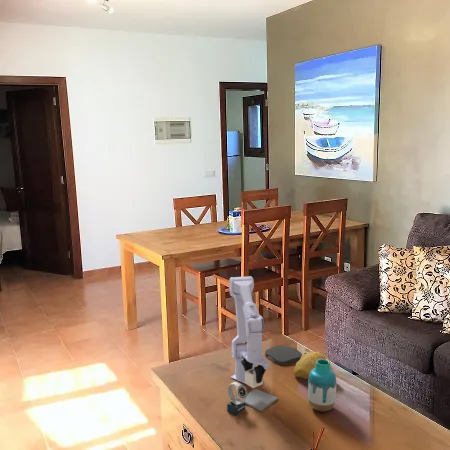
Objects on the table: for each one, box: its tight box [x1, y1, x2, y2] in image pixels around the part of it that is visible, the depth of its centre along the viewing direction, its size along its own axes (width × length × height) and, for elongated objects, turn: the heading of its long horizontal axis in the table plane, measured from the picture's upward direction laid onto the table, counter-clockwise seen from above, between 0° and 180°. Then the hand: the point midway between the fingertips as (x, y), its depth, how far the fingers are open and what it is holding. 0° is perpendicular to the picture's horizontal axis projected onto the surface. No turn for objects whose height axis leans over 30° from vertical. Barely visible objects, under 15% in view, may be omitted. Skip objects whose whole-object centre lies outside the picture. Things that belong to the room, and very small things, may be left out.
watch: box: [226, 381, 248, 416], centre depth 188 cm, size 6×8×11 cm
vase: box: [307, 358, 337, 412], centre depth 189 cm, size 11×11×19 cm
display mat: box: [244, 388, 278, 412], centre depth 196 cm, size 11×11×1 cm
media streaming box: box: [264, 345, 303, 366], centre depth 234 cm, size 15×15×3 cm
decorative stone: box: [293, 350, 334, 380], centre depth 213 cm, size 13×15×15 cm
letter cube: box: [244, 368, 264, 389], centre depth 195 cm, size 5×5×5 cm
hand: (254, 379), depth 195 cm, fingers closed on letter cube, 5 cm apart
